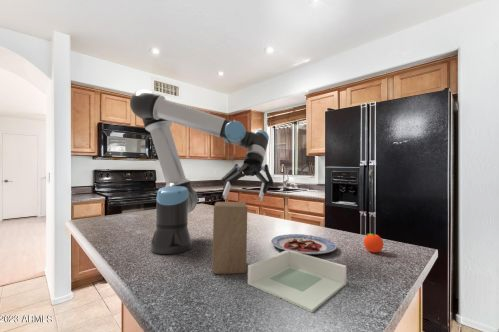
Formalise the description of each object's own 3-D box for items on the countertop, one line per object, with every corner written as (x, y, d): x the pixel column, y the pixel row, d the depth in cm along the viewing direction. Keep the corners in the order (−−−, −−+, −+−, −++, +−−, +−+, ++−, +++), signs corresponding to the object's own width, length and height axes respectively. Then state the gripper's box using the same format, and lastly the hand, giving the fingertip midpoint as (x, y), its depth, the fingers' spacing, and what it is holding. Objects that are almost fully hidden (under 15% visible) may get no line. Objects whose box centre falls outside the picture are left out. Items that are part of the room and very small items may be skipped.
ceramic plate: (341, 262, 86) (341, 253, 86) (267, 255, 91) (267, 247, 91) (332, 241, 111) (332, 234, 112) (274, 237, 117) (274, 230, 117)
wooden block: (214, 261, 83) (215, 201, 84) (243, 261, 84) (245, 202, 84) (212, 274, 73) (213, 206, 74) (246, 274, 74) (247, 206, 75)
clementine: (358, 251, 98) (358, 233, 98) (364, 247, 103) (364, 230, 103) (380, 256, 92) (380, 237, 92) (385, 252, 97) (385, 233, 97)
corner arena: (247, 284, 68) (248, 265, 68) (287, 265, 82) (287, 249, 82) (312, 312, 55) (312, 289, 55) (346, 284, 69) (346, 265, 69)
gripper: (285, 165, 103) (277, 206, 88) (228, 164, 110) (213, 202, 96) (283, 151, 98) (274, 192, 83) (224, 151, 105) (207, 189, 91)
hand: (241, 198), depth 89 cm, fingers open, 13 cm apart
